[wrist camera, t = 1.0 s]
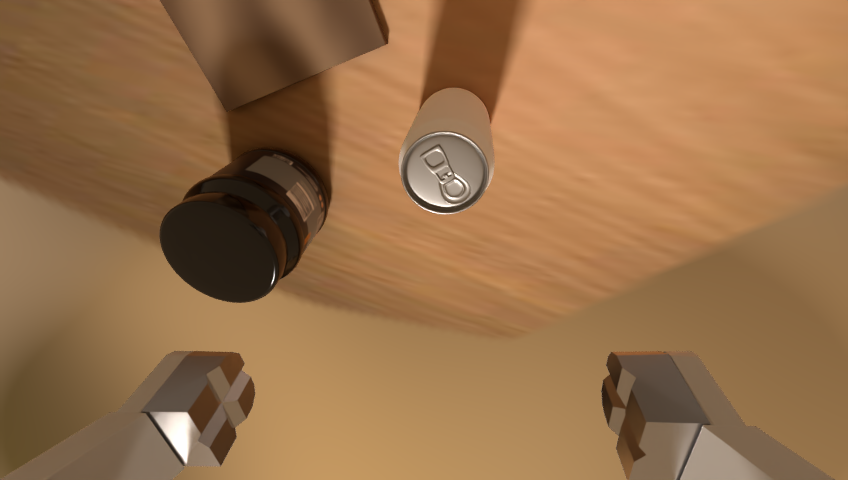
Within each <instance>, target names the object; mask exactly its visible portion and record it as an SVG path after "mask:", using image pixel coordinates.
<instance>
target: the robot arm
mask: <svg viewBox="0 0 848 480" xmlns="http://www.w3.org/2000/svg"><path fill="white" fill-rule="evenodd" d="M243 366H244V361H243V359H242V358H241V356H240V354H239V353H234V352H205V351H174V352H172V353H170V354H168V355H166V356H165V357H164V358H163V360H162V361H161V362H160V363H159V364H158V365H157V367H156V368H155V369H154V370H153V371H152V372H151V373H150V374H149V376H148V377H147V378H146V379H145V380H144V381H143V383H142V384H141V385H140V386H139V387H138V388H137V389H136V391H135V392H134V393H133V394H132V395H131V396H130V397H129V398H128V400H127V401H126V402H125V403H124V404H123V405H122V407H121V408H120V409H119V410H118V411H117V412H109V413H108V414H106V415H105V416H103V417H101V418H100V419H98V420H96V421H95V422H93V423H91V424H90V425H88V426H87V427H85V428H84V429H82V430H80V431H78V432H77V433H75V434H73V435H72V436H70V437H69V438H67V439H65V440H64V441H62V442H60V443H59V444H57V445H55V446H54V447H52V448H51V449H49V450H47V451H46V452H44V453H42V454H41V455H39V456H38V457H36V458H34V459H33V460H31V461H29V462H28V463H26V464H24V465H23V466H21V467H19V468H18V469H16V470H15V471H13V472H11V473H10V474H8V475H6V476H5V477H3V478H1V479H0V480H172V479H173V478H174V477H176V476H177V475H178V474H179V473H180V472H181V471H182V470H183V469H184V467H183V466H221V465H222V463H223V461H224V459H225V458H226V456H227V454H228V452H229V450H230V448H231V447H232V445H233V443H234V441H235V439H236V431H235V427H236V426H238V425H239V424H240V423H242V422H243V421H244V420H245V419H246V418H247V416H248V414H249V413H250V411H251V409H252V406H253V402H254V397H255V389H254V383H253V381H252V378H251V377H250V376H249V375H248V374H246V373H245V372H243V371H242V368H243ZM606 366H607V368H608V371H609V373H610V375H609V376H607V377H606V378H605V379H604V380H603V385H602V391H601V392H602V406H603V410H604V414H605V418H606V421H607V424H608V427H609V428H610V429H611V430H612V431H614V432H615V433H616V434H617V435H618V436H619V438H618V442H617V446H616V450H617V453H618V455H619V458H620V461H621V464H622V467H623V470H624V472H625V475H626V478H627V480H835V479H833V478H831V477H830V476H829V475H827V474H826V473H824V472H823V471H821V470H820V469H818V468H817V467H815V466H814V465H812V464H811V463H809V462H808V461H806V460H805V459H803V458H802V457H801V456H799V455H797V454H796V453H794V452H793V451H792V450H790V449H789V448H787V447H786V446H784V445H782V444H781V443H780V442H778V441H777V440H775V439H774V438H772V437H771V436H769V435H768V434H766V433H765V432H763V431H762V430H760V429H759V428H757V427H756V426H746V425H745V423H744V422H743V420H742V419H741V418H740V416H739V415H738V413H737V412H736V410H735V409H734V408H733V406H732V405H731V403H730V402H729V400H728V399H727V397H726V396H725V395H724V393H723V391H722V390H721V389H720V387H719V386H718V384H717V383H716V382H715V380H714V378H713V377H712V376H711V374H710V373H709V371H708V370H707V369H706V367H705V365H704V364H703V362H702V361H701V360H700V358H699V357H698V355H696V354H695V353H693V352H692V351H665V352H661V351H650V352H649V351H648V352H647V351H645V352H643V351H642V352H611V353H610V354H609V356H608V359H607V364H606Z"/></svg>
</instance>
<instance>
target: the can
mask: <svg viewBox="0 0 848 480" xmlns="http://www.w3.org/2000/svg"><path fill="white" fill-rule="evenodd" d="M399 171H400V175H401V179H402V183H403V186H404V189H405V191H406V192H407V194H408V196H409V197H410V198H411V199H412V200H413V201H414V202H415V203H416V204H417V205H418V206H420V207H421V208H423V209H425V210H427V211H430V212H433V213H437V214H454V213H458V212H461V211H464V210H466V209H468V208H470V207H471V206H473V205H474V204H475V203H476V202H477V201H478V200H479V199H480V198H481V196H482V195H483V193H484V192H485V190H486V189H487V187H488V186H489V184H490V182H491V179H492V176H493V172H494V149H493V141H492V133H491V126H490V119H489V115H488V112H487V109H486V107H485V105H484V104H483V102H482V101H481V100H480V99H479V98H478V97H477V96H476V95H475V94H473V93H472V92H470V91H468V90H465V89H461V88H446V89H442V90H440V91H438V92H436V93H434V94H433V95H431V96H430V97H429V98H428V99H427V100H426V101H425V102H424V104H423V105H422V107H421V108H420V110H419V112H418V114H417V116H416V118H415V120H414V122H413V124H412V126H411V128H410V130H409V132H408V134H407V136H406V138H405V140H404V142H403V145H402V147H401V151H400V156H399Z"/></svg>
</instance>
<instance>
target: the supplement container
mask: <svg viewBox="0 0 848 480" xmlns="http://www.w3.org/2000/svg"><path fill="white" fill-rule="evenodd" d="M327 214H328V196H327V192H326V189H325V186H324V184H323V182H322V180H321V178H320V177H319V175H318V174H317V173H316V171H315V170H314V169H313V168H312V167H311V166H310V165H309V164H308V163H307V162H305V161H304V160H303V159H301V158H300V157H298V156H296V155H295V154H293V153H290V152H288V151H285V150H282V149H277V148H270V147H264V148H257V149H252V150H250V151H247V152H245V153H243V154H242V155H240V156H239V157H237V158H236V159H235V160H234V161H233V162H231V163H230V164H228V165H227V166H225V167H224V168H222V169H221V170H219V171H218V172H216V173H215V174H213V175H212V176H210V177H207V178H205V179H203V180H201V181H199V182H198V183H196V184H195V185H194V186H193V187H192V188H191V189H189V191H188V192H187V193H186V195H185V197H184V199H183V201H182V202H181V203H179V204H178V205H177V206H175V207H174V208H172V209H171V210H170V211H169V212H168V213H167V214H166V215H165V217H164V219H163V221H162V223H161V226H160V243H161V247H162V250H163V253H164V255H165V257H166V259H167V261H168V263H169V264H170V265H171V267H172V268H173V270H174V271H175V272H176V273H177V274H178V275H179V276H180V277H181V278H182V279H183V280H184V281H185V282H187V283H188V284H189V285H191V286H192V287H193V288H195V289H196V290H198V291H200V292H202V293H203V294H206V295H208V296H210V297H213V298H215V299H218V300H222V301H227V302H234V303H235V302H236V303H245V302H251V301H255V300H258V299H260V298H262V297H264V296H266V295H267V294H268V293H269V292H271V290H272V289H273V288H274V287H275V285H276V284H277V283H278V281H279V280H280V279H282V278H284V277H285V276H287V275H288V274H289V273H290V272H292V271H293V269H294V268H295V267H296V266H297V264H298V262H299V261H300V259H301V256H302V254H303V253H304V251H305V250H306V248H307V247H308V245H309V244H310V242H311V241H312V239H313V238H314V236H315V235H316V234H317V233H318V232H319V230H320V229H321V228H322V226H323V224H324V222H325V220H326V217H327Z"/></svg>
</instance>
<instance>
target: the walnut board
mask: <svg viewBox="0 0 848 480" xmlns="http://www.w3.org/2000/svg"><path fill="white" fill-rule="evenodd" d="M160 1H161V3H162V4H163V6H164V8H165V9H166V11H167V13H168V14H169V16H170V18H171V19H172V21H173V23H174V24H175V26H176V28H177V29H178V31H179V33H180V34H181V36H182V38H183V39H184V41H185V43H186V44H187V46H188V48H189V49H190V51H191V53H192V54H193V56H194V58H195V59H196V61H197V63H198V64H199V66H200V68H201V69H202V71H203V73H204V74H205V76H206V78H207V79H208V81H209V83H210V84H211V86H212V88H213V89H214V91H215V93H216V94H217V96H218V98H219V99H220V101H221V103H222V104H223V106H224V108H225V109H226V111H227V112H228V111H230V110H232V109H235V108H237V107H239V106H242V105H244V104H247V103H249V102H251V101H254V100H256V99H258V98H261V97H263V96H265V95H268V94H270V93H273V92H275V91H277V90H280V89H282V88H284V87H287V86H289V85H291V84H294V83H296V82H299V81H301V80H303V79H306V78H308V77H310V76H313V75H315V74H318V73H320V72H322V71H325V70H327V69H329V68H332V67H334V66H336V65H339V64H341V63H344V62H346V61H348V60H351V59H353V58H355V57H358V56H360V55H362V54H365V53H367V52H370V51H372V50H374V49H377V48H379V47H381V46H384V45H386V44H388V43H387V40H386V37H385V35H384V32H383V29H382V27H381V24H380V21H379V19H378V16H377V13H376V11H375V8H374V5H373V3H372V0H160Z"/></svg>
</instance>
